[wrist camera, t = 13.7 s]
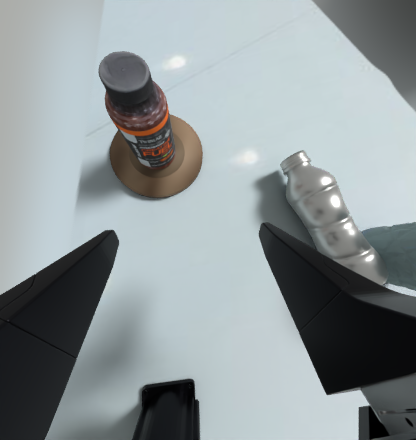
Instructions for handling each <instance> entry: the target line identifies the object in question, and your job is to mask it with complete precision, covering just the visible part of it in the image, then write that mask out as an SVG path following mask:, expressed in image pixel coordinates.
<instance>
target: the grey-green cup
mask: <svg viewBox="0 0 416 440" xmlns="http://www.w3.org/2000/svg"><path fill="white" fill-rule="evenodd" d="M362 234H363V236H364V237H365V238H366V240H367V241H368V243H369V244H370V245H371V246H372V247H373V248H374V249H375V250H376V251H377V252H378V254H379V255H380V256H381V257H382V259H383V260H384V261H385V264H386V267H387V270H388V273H389V275H388V278H387V281H386V283H390V284H393V285H396V286H402V287H406V288H408V289H412V290H415V291H416V222H413V223H406V224H400V225H393V226H392V227H387V226H383V227H375V228H370V229H367V230H365V231H363V232H362Z"/></svg>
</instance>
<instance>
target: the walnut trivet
mask: <svg viewBox="0 0 416 440" xmlns="http://www.w3.org/2000/svg"><path fill="white" fill-rule="evenodd" d="M169 115H170V114H169ZM170 121H171V126H172V132H173V137H174V143H175V150H176V154H175V158H174V160H173V162H172V163H171V164H170V165H169V166H167V167H165V168H163V169H157V170H153V169H149V168H147V167H145V166H144V165H142V164H141V163H140V162H139V161H138V159H137V158H136V156H135V155H134V153H133V152H132V150H131V149H130V147H129V145H128V144H127V142H126V141H125V139H124V138H123V136H122V135H121V133H120V132H119V130H118V131H117V133H116V134H115V136H114V138H113V141H112V144H111V148H110V160H111V165H112V168H113V170H114V172H115V174H116V176H117V177H118V178H119V180H120V181H121V182H122V183H123V184H125V185H126V186H127V187H128V188H129V189H131V190H132V191H134V192H136V193H138V194H140V195H143V196H147V197H153V198H163V197H169V196H173V195H175V194H178V193H180V192H182V191H183V190H185V189H186V188H188V187H189V186H190V185H191V184H192V183H193V182H194V180H195V179H196V177H197V176H198V174H199V172H200V169H201V165H202V154H203V152H202V146H201V142H200V139H199V137H198V135H197V134H196V132H195V131H194V130H193V128H192V127H191V126H190V125H189V124H187V123H186V122H185V121H183V120H182V119H180V118H178V117H176V116H173V115H170Z"/></svg>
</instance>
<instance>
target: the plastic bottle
mask: <svg viewBox="0 0 416 440" xmlns="http://www.w3.org/2000/svg"><path fill="white" fill-rule="evenodd" d="M310 162H311V159H310V158H308V156H307V154H306V152H305V151H304V150H302V151H299V152H297V153H295V154H293V155H291V156H290V157H288V158H287V159H285V160H284V161H283V162H282V163H281V164H280V167H281V168H282V170H283V174H284V176H286V175H287V177H288V181H287V186H286V199H287V201H288V202H289V204H290V205H291V207H292V208H293V209H294V211H295V212H296V213H297V215H298V216H299V217H300V219H301V220H302V222H303V224H304V225H305V227H306V228H307V229H308V232H309V233H310V235H311V237H312V239H313V241H314V244H315V246H316V248H317V251H318V252H320V253H322V254H324V255H325V256H327V257H329V258H330V259H332V260H334V261H336V262H338V263H339V264H341V265H343V266H345V267H347V268H349V269H351V270H352V271H354V272H356V273H358V274H360V275H362V276H364V277H366V278H368V279H370V280H372V281H374V282H376V283H378V284H380V285H384V284H385V283H386V281H387V278H388V275H389V273H388V270H387V267H386V264H385V261H384V260H383V259H382V257H381V256H380V255H379V254H378V252H377V251H376V250H375V249H374V248H373V247H372V246H371V245H370V244H369V243H368V241H367V240H366V238H365V237H364V236H363V234H362V233H361V231H360V230H359V229H358V227H357V226H356V224H355V223H354V221H353V219H352V217H351V216H350V215H349V214H350V213H349V211H348V209H347V207H346V205H345V203H344V200H343V197H342V194H341V192H340V189H339V186H338V185H337V181H336V179H335V177H334V176H333V175H332V174H330V173H329V172H327V171H325V170H323V169H320V168H317V167H314V166H312V165H311V164H310Z"/></svg>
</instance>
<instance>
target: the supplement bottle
mask: <svg viewBox="0 0 416 440" xmlns="http://www.w3.org/2000/svg"><path fill="white" fill-rule="evenodd" d="M99 77H100V79H101V81H102V83H103V84H104V86H105V88H106V95H105V105H106V109H107V112H108V114H109V116H110V118H111V119H112V121H113V122H114V124H115V125H116V127H117V128H118V130H119V132H120V133H121V135H122V136H123V138H124V139H125V141H126V142H127V144H128V145H129V147H130V149H131V150H132V152H133V153H134V155H135V156H136V158H137V159H138V161H139V162H140V163H141V164H142V165H144V166H145V167H147V168H149V169H153V170H157V169H163V168H165V167H167V166H169V165H170V164H171V163H172V162H173V160H174V158H175V154H176V150H175V143H174V137H173V132H172V126H171V121H170V115H169V110H168V105H167V101H166V97H165V95H164V93H163V91H162V89H161V88H160V87H159V86H158V85H157V84H156V83H155V82H154V81H152V78H151V74H150V71H149V67H148V65H147V64H146V62H145V61H144V60H143V59H142V58H141V57H139V56H138V55H136V54H134V53H130V52H125V51H122V52H113V53H111V54H109V55H108V56H106V57H105V58H104V59H103V60H102V62H101V63H100V65H99Z"/></svg>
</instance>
